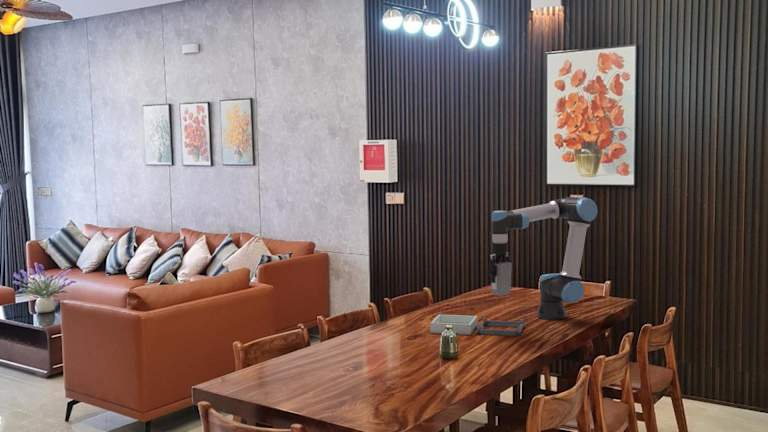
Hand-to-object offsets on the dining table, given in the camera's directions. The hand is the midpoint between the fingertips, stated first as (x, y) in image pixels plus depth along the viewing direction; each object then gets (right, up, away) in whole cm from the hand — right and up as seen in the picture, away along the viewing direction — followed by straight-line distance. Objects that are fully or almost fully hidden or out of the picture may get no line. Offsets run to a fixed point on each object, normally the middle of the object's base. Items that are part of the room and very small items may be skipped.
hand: (500, 287), depth 372 cm
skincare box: (0, -3, 0) cm, 3 cm away
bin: (-22, -21, +6) cm, 31 cm away
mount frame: (+1, -21, +2) cm, 21 cm away
